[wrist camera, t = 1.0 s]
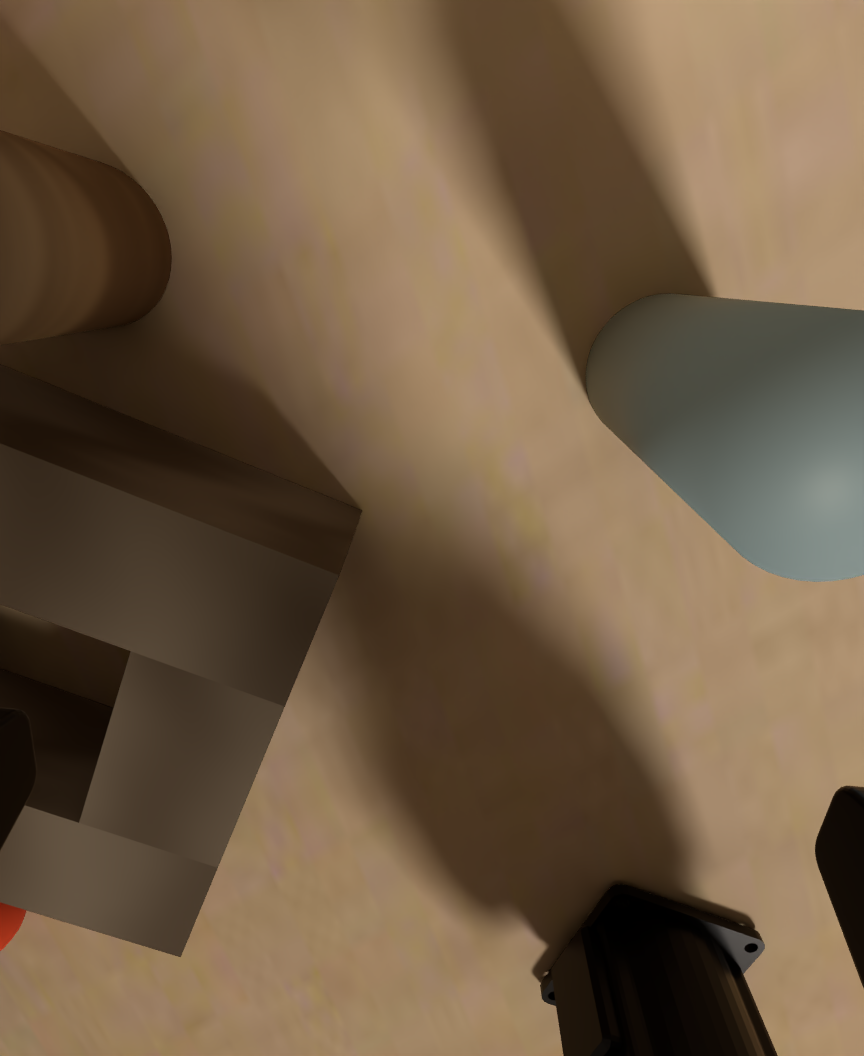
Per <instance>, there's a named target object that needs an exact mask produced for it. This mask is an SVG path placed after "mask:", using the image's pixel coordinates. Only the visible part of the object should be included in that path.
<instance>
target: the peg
mask: <svg viewBox="0 0 864 1056" xmlns="http://www.w3.org/2000/svg"><path fill="white" fill-rule="evenodd" d="M586 388H587V393H588V397H589V400H590V403H591V405H592V408H593V409H594V411H595V413H596V415H597V416H598V417H599V419H600V420H601V421H602V422H603V423H604V424H605V425H606V426H607V427H608V428H609V429H610V430H611V431H612V432H613V433H614V434H615V435H616V436H617V437H618V438H619V439H620V440H621V441H622V442H623V443H624V444H625V445H627V446H628V447H629V448H630V449H631V450H632V451H633V452H634V453H635V454H636V455H637V456H638V457H639V458H640V459H641V460H642V461H643V462H644V463H645V464H646V465H647V466H648V467H649V468H650V469H652V470H653V471H654V472H655V473H656V474H657V475H658V476H659V477H660V478H661V479H662V480H663V481H664V482H665V483H666V484H667V485H668V486H669V487H670V488H671V489H672V490H673V491H674V492H676V493H677V494H678V495H679V496H680V497H681V498H682V499H683V500H684V501H685V502H686V503H687V504H688V505H689V506H690V507H691V508H692V509H693V510H694V511H695V512H696V513H697V514H698V515H699V516H701V517H702V518H703V519H704V520H705V521H706V522H707V523H708V524H709V525H710V526H711V527H712V528H713V529H714V530H715V531H716V532H717V533H718V534H719V535H720V536H721V537H722V538H723V539H724V540H726V541H727V542H728V543H729V544H730V545H731V546H732V547H733V548H734V549H735V550H736V551H737V552H738V553H739V554H740V555H741V556H742V557H744V558H745V559H747V560H748V561H749V562H751V563H752V564H754V565H755V566H757V567H759V568H761V569H763V570H765V571H767V572H770V573H772V574H775V575H778V576H781V577H785V578H790V579H794V580H800V581H813V582H821V581H836V580H843V579H849V578H854V577H857V576H861V575H864V311H863V310H851V309H840V308H829V307H818V306H806V305H795V304H784V303H773V302H761V301H750V300H739V299H728V298H716V297H705V296H694V295H682V294H671V293H669V294H657V295H652V296H648V297H645V298H642V299H639V300H637V301H635V302H633V303H631V304H629V305H628V306H626V307H625V308H623V309H621V310H620V311H619V312H618V313H617V314H615V315H614V316H613V317H612V318H611V319H610V320H609V321H608V322H607V323H606V324H605V326H604V327H603V328H602V330H601V331H600V333H599V334H598V336H597V338H596V339H595V341H594V343H593V346H592V348H591V350H590V354H589V357H588V361H587V367H586Z"/></svg>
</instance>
